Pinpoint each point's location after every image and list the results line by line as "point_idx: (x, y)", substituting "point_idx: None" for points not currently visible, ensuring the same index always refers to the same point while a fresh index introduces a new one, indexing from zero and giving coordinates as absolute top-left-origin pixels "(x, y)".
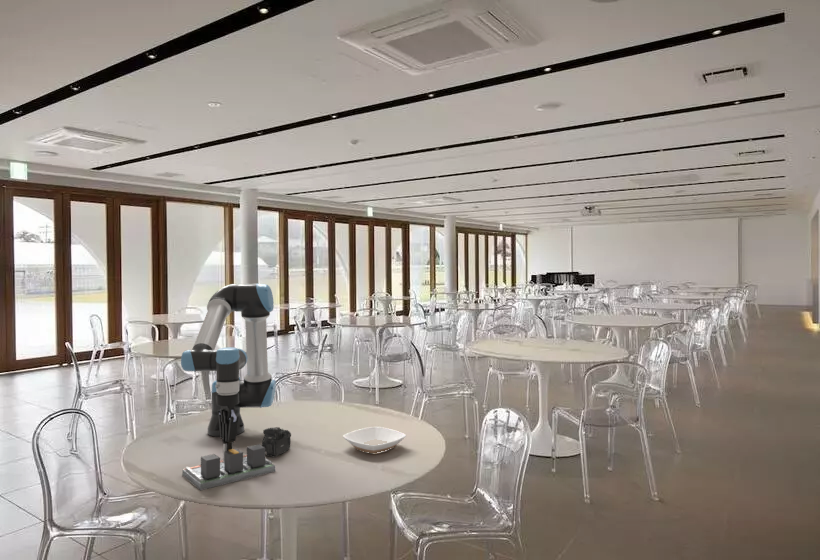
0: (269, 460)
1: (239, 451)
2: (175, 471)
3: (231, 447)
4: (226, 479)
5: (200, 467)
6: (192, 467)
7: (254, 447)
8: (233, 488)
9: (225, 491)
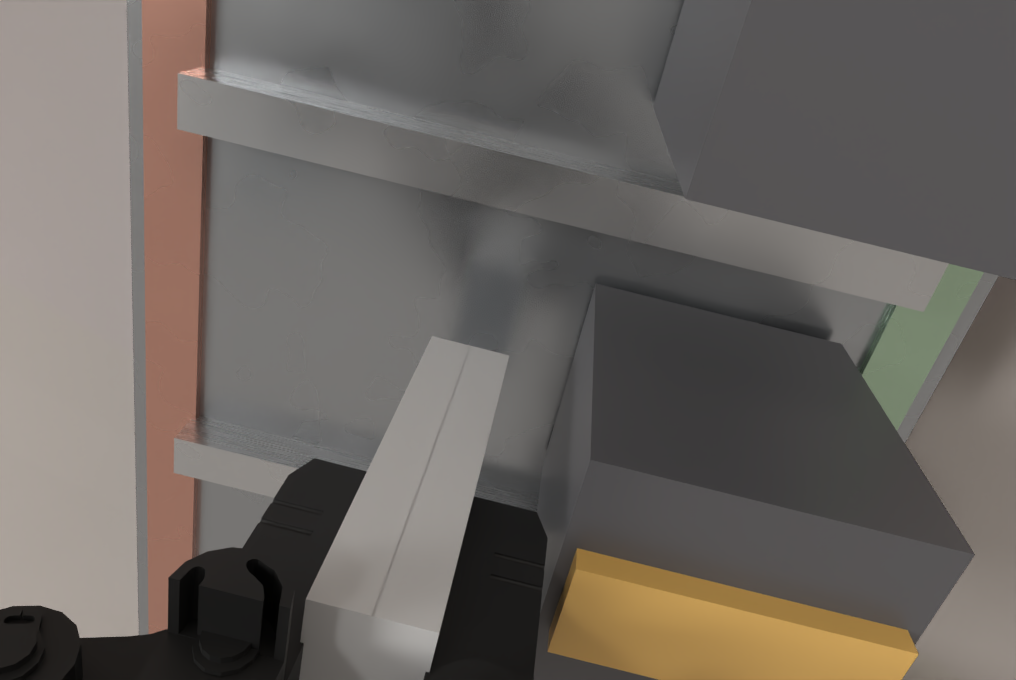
0: None
1: (823, 552)
2: (16, 587)
3: (537, 611)
4: None
5: (215, 549)
6: (167, 606)
7: (990, 86)
8: (991, 586)
9: (963, 666)
